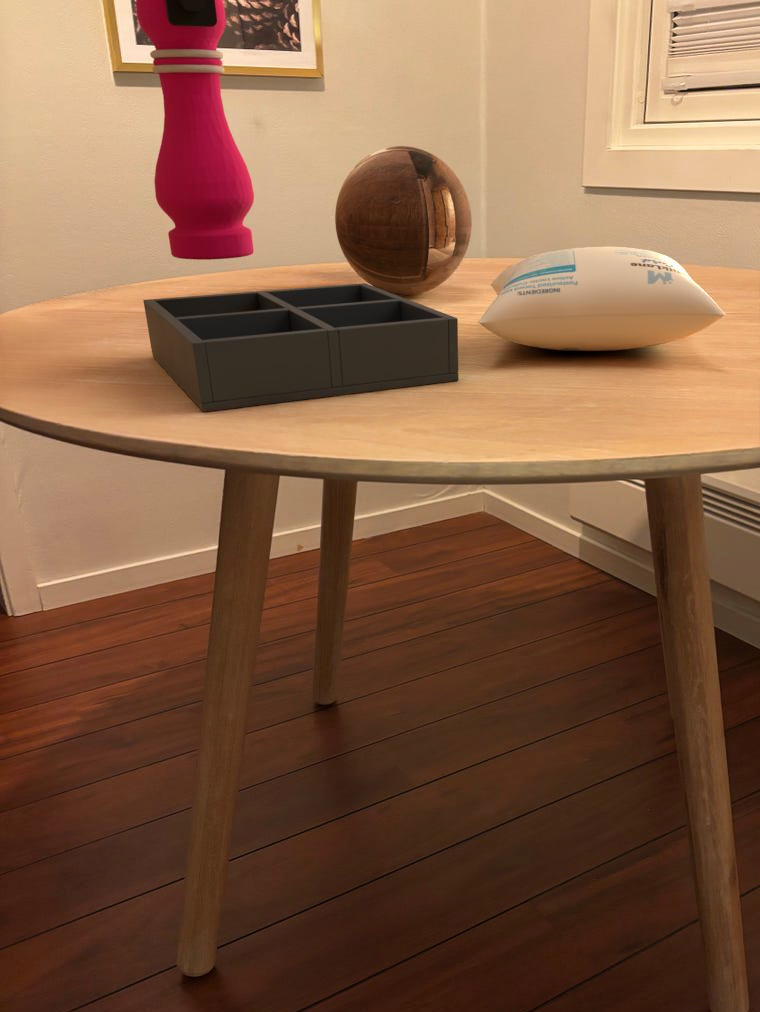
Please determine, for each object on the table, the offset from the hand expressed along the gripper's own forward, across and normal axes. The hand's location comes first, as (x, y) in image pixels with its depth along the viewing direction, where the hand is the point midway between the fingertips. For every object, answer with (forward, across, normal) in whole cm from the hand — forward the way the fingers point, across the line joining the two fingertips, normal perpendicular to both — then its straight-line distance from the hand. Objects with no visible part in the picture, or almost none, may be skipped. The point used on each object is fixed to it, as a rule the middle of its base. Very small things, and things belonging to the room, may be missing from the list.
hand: (182, 26), depth 66 cm
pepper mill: (+15, 0, 0) cm, 15 cm away
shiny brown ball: (+23, -25, +27) cm, 44 cm away
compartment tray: (+23, +5, +5) cm, 24 cm away
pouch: (+23, +8, +31) cm, 39 cm away
